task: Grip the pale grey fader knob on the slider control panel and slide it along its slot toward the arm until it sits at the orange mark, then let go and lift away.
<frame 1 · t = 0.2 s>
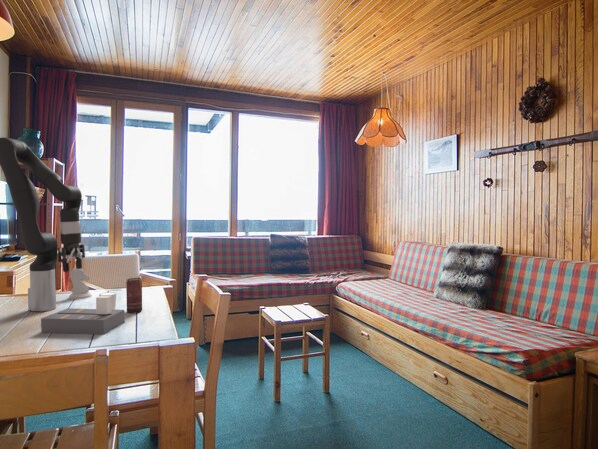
hand: (72, 270, 168), 17 cm above the table, tool pointing down, fingers open, 8 cm apart
shot glass: (108, 310, 170), on the table
fader knob: (103, 307, 144), point 8 cm above the table, slide at 0.0 cm
can: (134, 312, 167), on the table
chess piece: (80, 297, 194), on the table
slider control panel: (84, 327, 145), on the table
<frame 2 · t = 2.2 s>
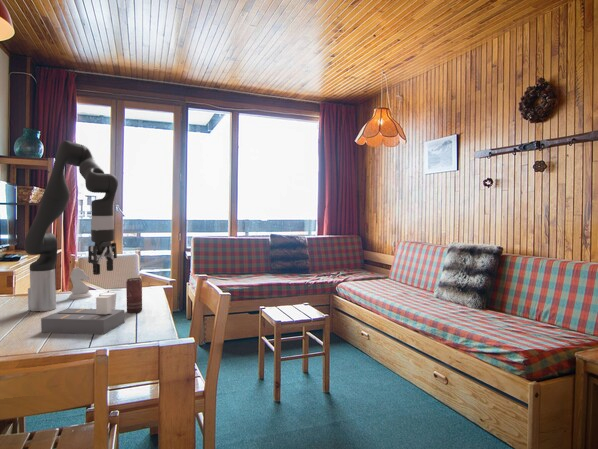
hand: (103, 272, 144), 20 cm above the table, tool pointing down, fingers open, 8 cm apart
nothing on the table moved.
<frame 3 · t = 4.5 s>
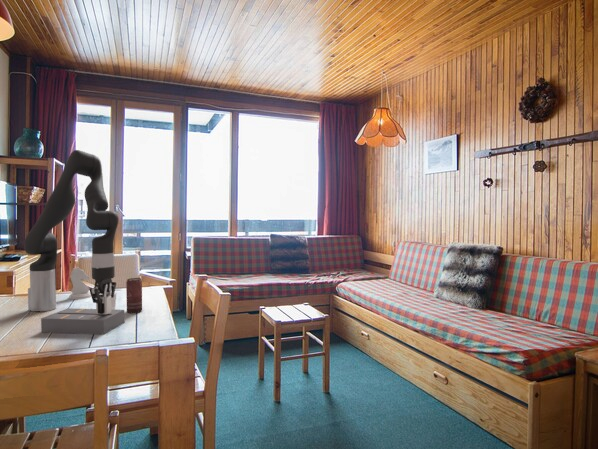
hand: (103, 311, 144), 6 cm above the table, tool pointing down, fingers closed on fader knob, 3 cm apart
fader knob: (103, 307, 144), point 8 cm above the table, slide at 0.0 cm, touching gripper
everything else where it was.
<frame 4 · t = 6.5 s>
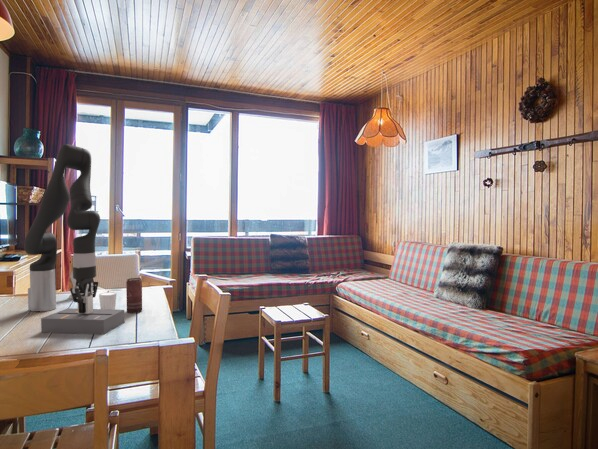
hand: (85, 311, 145), 6 cm above the table, tool pointing down, fingers closed on fader knob, 3 cm apart
fader knob: (85, 307, 145), point 8 cm above the table, slide at 7.1 cm, touching gripper
everything else where it was.
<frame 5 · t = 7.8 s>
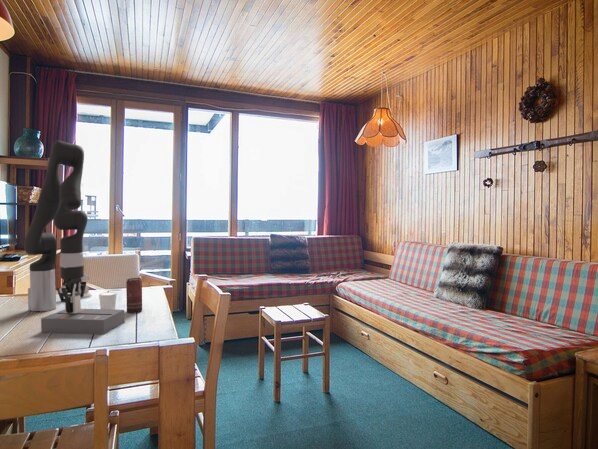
hand: (72, 311, 145), 6 cm above the table, tool pointing down, fingers closed on fader knob, 3 cm apart
fader knob: (72, 306, 145), point 8 cm above the table, slide at 12.0 cm, touching gripper
everything else where it was.
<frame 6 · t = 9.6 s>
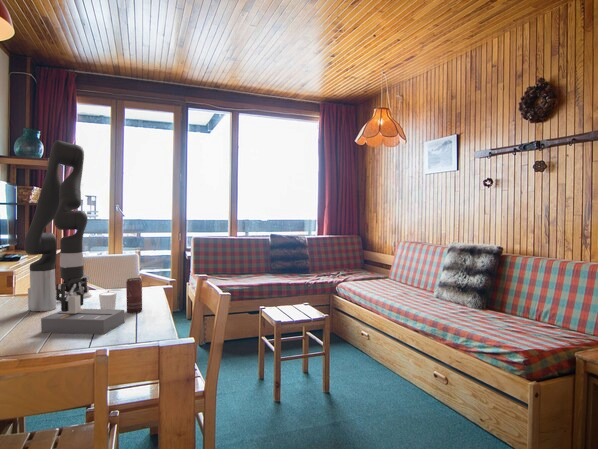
hand: (72, 308, 145), 7 cm above the table, tool pointing down, fingers open, 8 cm apart
fader knob: (72, 306, 145), point 8 cm above the table, slide at 12.0 cm
everything else where it was.
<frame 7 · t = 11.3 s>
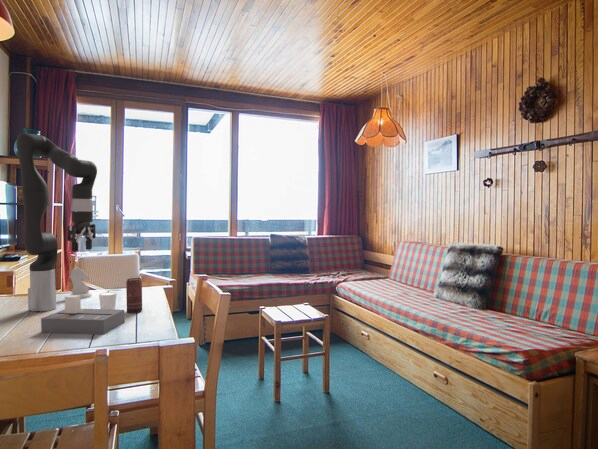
hand: (82, 250, 158), 27 cm above the table, tool pointing down, fingers open, 8 cm apart
nothing on the table moved.
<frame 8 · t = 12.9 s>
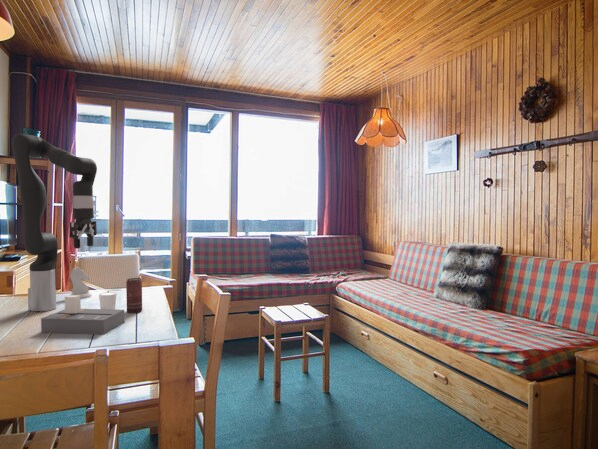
hand: (83, 247, 159), 28 cm above the table, tool pointing down, fingers open, 8 cm apart
nothing on the table moved.
at the end: fader knob slide at 12.0 cm; the gripper is holding nothing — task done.
